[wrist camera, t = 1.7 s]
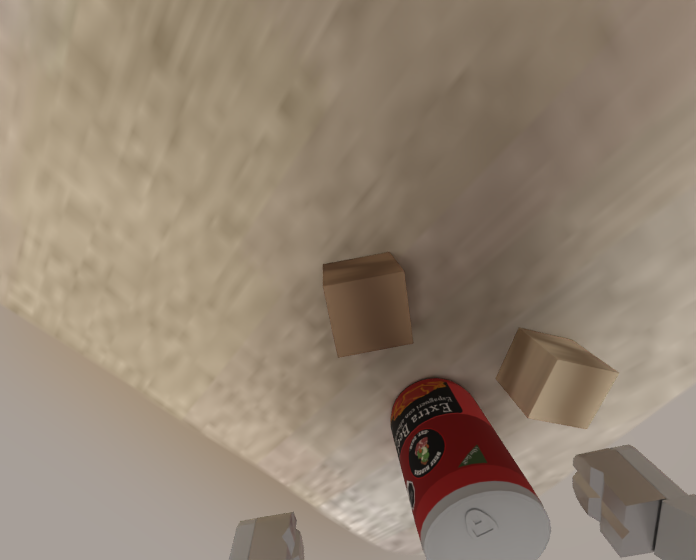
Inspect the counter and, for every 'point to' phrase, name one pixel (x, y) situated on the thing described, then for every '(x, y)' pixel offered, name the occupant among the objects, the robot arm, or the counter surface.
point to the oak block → (555, 379)
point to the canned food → (463, 479)
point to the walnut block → (367, 304)
